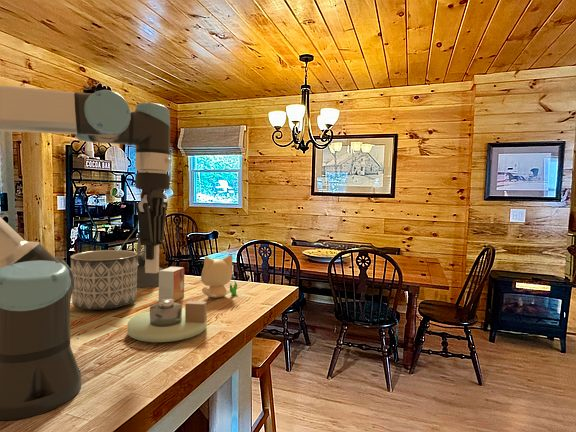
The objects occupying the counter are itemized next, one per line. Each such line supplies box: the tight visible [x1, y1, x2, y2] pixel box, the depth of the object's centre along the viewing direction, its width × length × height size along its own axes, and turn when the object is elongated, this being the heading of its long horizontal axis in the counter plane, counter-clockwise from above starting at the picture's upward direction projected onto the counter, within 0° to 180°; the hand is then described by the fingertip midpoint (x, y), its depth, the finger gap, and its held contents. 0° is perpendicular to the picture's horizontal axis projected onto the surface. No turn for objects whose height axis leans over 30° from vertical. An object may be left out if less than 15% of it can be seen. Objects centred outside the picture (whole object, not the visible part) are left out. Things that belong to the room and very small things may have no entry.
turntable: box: [127, 300, 208, 343], centre depth 98 cm, size 20×20×7 cm
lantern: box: [119, 225, 164, 289], centre depth 147 cm, size 18×20×30 cm
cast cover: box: [149, 299, 183, 327], centre depth 97 cm, size 8×8×6 cm
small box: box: [158, 266, 185, 302], centre depth 128 cm, size 8×6×10 cm
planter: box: [69, 249, 138, 311], centre depth 119 cm, size 19×19×16 cm
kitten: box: [200, 254, 238, 299], centre depth 132 cm, size 15×10×15 cm
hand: (152, 272), depth 88 cm, fingers closed
